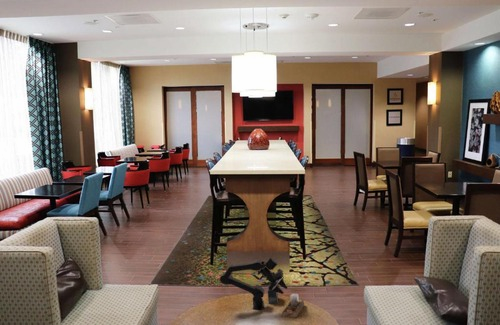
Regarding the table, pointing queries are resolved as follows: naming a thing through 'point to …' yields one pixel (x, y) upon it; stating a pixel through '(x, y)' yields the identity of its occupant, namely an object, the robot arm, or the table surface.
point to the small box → (272, 296)
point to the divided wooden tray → (292, 310)
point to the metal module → (294, 300)
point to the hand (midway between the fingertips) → (285, 291)
